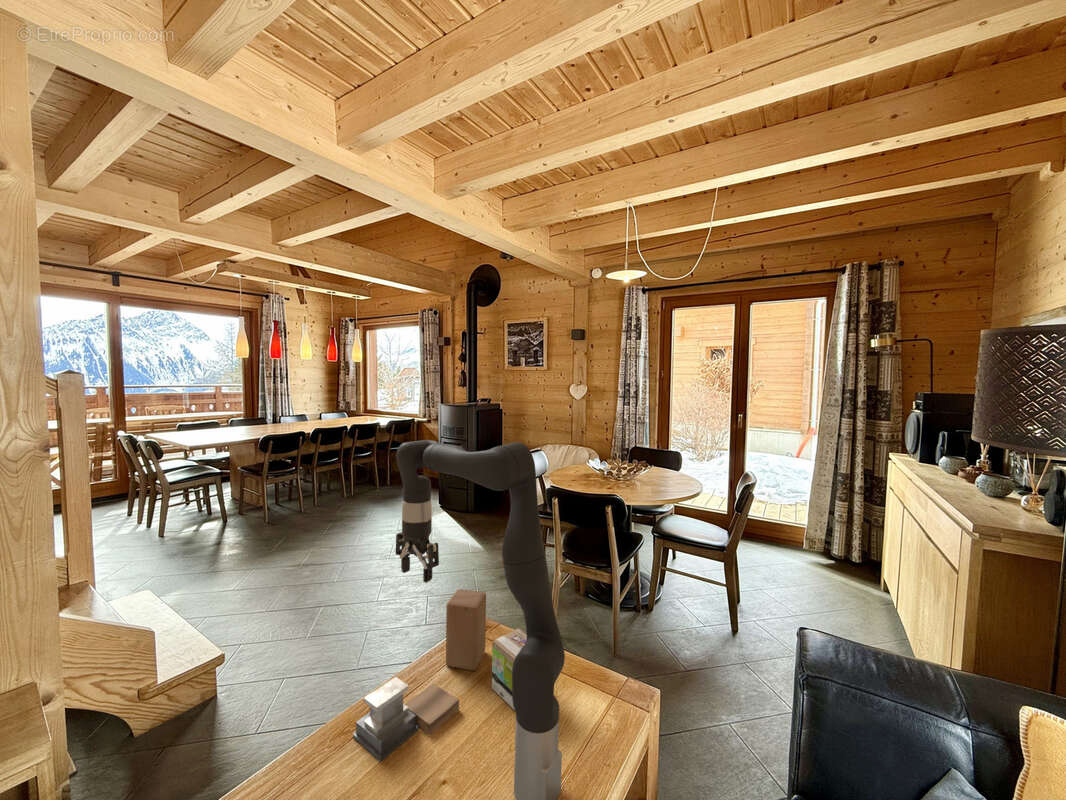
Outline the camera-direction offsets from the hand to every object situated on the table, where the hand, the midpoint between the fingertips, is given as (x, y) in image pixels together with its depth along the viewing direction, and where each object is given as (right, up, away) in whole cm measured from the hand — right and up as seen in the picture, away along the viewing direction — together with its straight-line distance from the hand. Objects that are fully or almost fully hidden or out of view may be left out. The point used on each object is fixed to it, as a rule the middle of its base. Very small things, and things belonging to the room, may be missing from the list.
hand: (416, 576), depth 114 cm
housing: (-5, -32, -8) cm, 33 cm away
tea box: (+27, -36, +6) cm, 46 cm away
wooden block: (+10, -35, +21) cm, 42 cm away
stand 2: (+4, -36, -1) cm, 36 cm away
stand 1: (-5, -36, -8) cm, 37 cm away
